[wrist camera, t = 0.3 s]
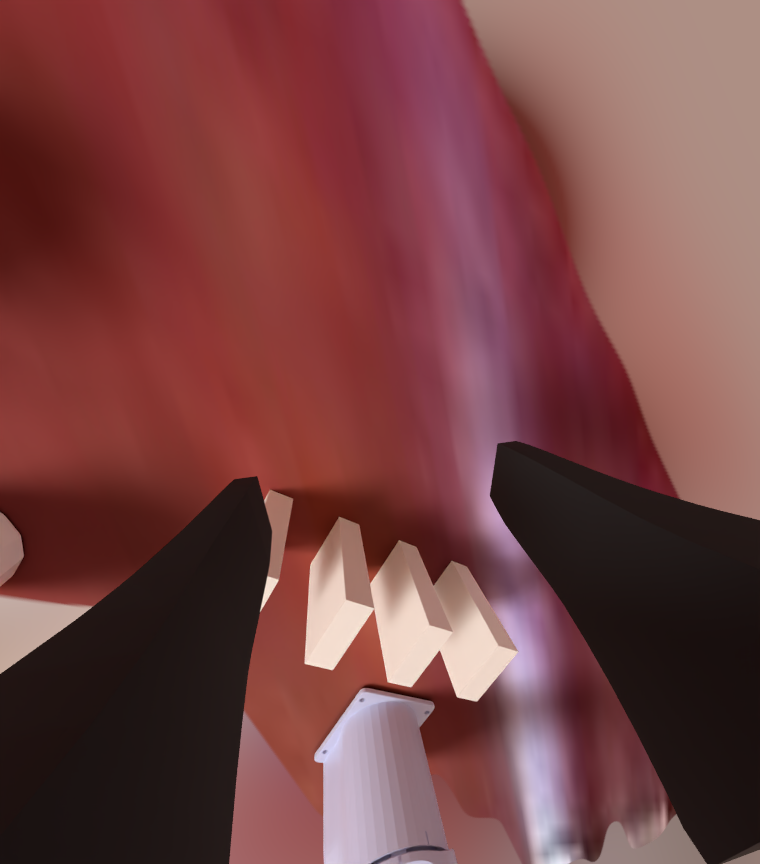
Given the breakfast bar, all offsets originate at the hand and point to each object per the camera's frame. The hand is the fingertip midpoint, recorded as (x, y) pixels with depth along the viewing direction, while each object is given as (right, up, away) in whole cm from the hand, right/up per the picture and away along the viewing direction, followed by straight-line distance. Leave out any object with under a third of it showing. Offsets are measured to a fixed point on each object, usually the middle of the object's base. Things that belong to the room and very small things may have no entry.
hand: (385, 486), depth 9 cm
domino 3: (+1, -9, +14) cm, 17 cm away
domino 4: (+5, -11, +16) cm, 20 cm away
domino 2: (-3, -6, +13) cm, 15 cm away
